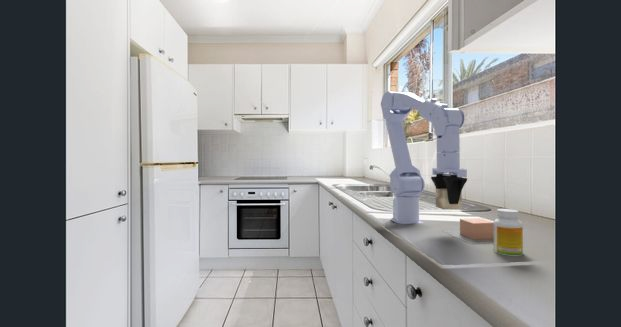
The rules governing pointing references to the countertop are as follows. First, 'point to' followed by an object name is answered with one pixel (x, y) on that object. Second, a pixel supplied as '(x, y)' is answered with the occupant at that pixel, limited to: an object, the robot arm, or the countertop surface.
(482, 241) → the baseplate
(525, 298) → the countertop surface
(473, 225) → the base block
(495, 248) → the supplement bottle
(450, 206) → the birch block
